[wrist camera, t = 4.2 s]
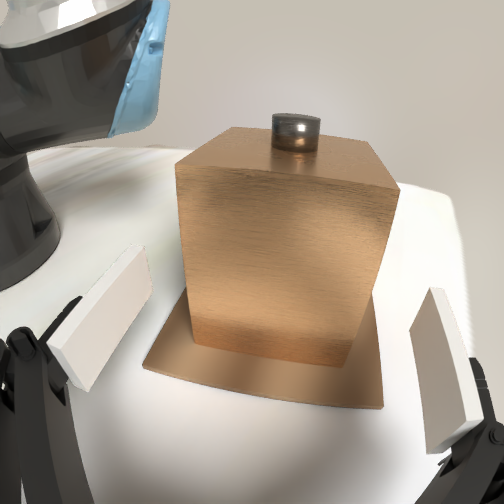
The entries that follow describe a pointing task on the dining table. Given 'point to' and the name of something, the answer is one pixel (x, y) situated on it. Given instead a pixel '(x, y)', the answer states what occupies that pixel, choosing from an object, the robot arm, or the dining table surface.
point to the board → (271, 366)
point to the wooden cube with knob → (282, 239)
